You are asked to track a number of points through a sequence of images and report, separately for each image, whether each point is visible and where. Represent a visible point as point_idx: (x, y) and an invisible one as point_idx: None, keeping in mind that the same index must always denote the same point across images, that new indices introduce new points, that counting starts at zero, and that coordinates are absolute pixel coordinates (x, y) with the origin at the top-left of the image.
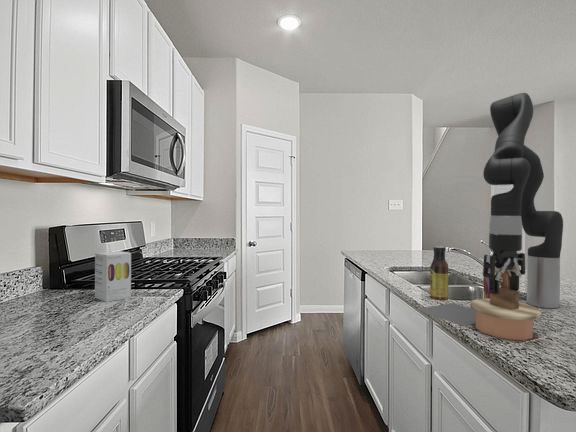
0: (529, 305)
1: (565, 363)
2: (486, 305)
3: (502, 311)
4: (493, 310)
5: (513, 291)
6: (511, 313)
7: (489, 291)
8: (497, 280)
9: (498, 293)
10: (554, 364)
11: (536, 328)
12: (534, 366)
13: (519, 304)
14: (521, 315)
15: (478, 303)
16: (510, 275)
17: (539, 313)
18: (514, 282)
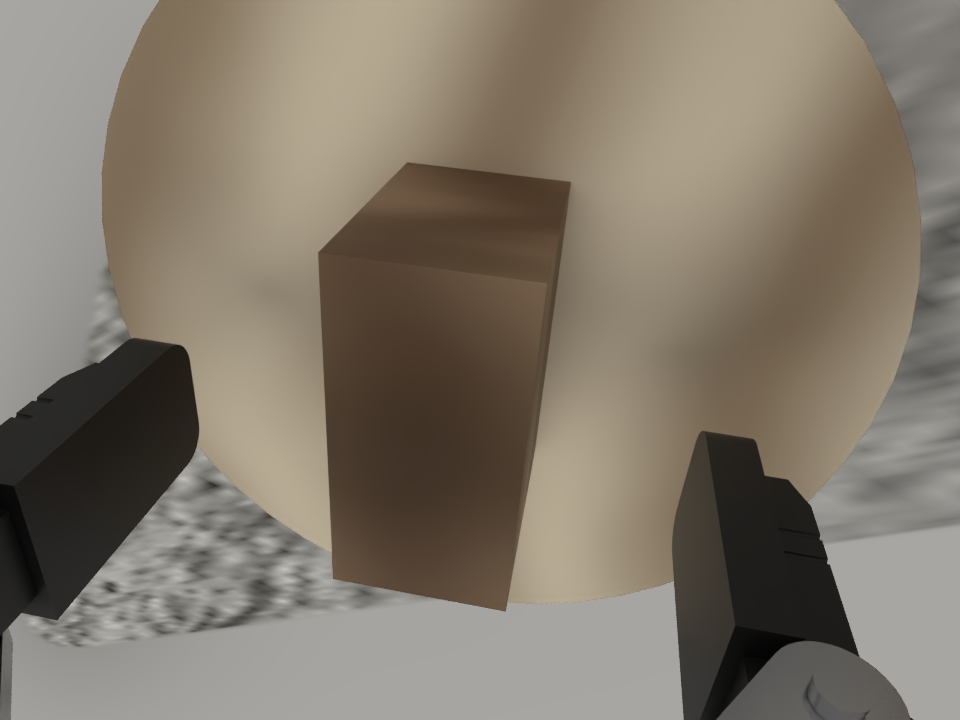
0: (817, 472)
1: (329, 595)
2: (295, 176)
3: (247, 400)
4: (183, 334)
5: (441, 565)
6: (269, 472)
7: (130, 341)
8: (25, 603)
9: (191, 451)
10: (265, 571)
11: (940, 320)
12: (148, 527)
13: (763, 390)
14: (306, 535)
15: (281, 47)
16: (773, 658)
17: (541, 600)
18: (695, 609)
